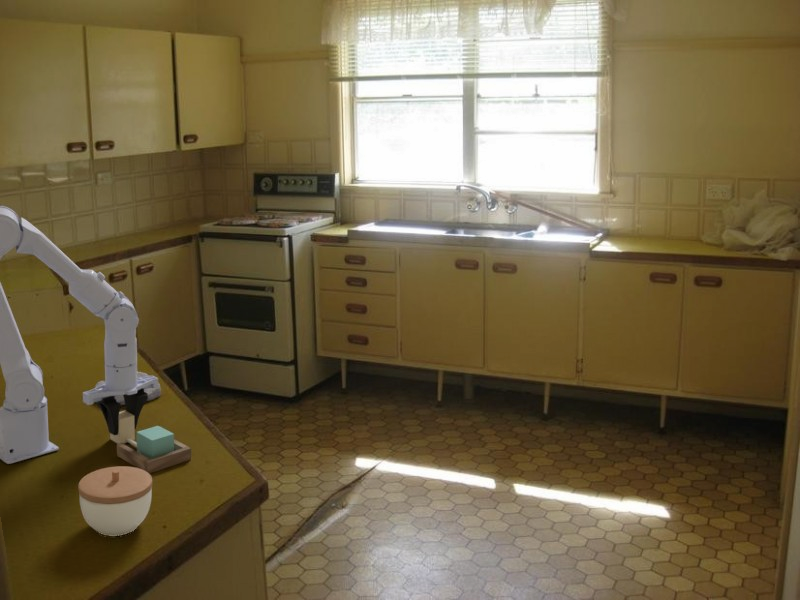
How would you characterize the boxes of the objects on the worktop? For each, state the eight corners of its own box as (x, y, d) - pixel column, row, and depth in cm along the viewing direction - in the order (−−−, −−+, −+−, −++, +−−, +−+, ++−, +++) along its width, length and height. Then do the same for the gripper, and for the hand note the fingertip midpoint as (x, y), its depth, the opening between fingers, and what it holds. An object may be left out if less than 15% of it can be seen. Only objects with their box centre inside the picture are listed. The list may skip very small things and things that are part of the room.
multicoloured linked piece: (174, 459, 158) (174, 433, 157) (152, 466, 154) (152, 440, 153) (128, 434, 167) (128, 409, 166) (107, 440, 164) (106, 415, 163)
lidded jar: (127, 503, 141) (125, 450, 139) (167, 527, 135) (166, 471, 132) (66, 526, 133) (63, 470, 131) (105, 553, 126) (103, 494, 124)
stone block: (165, 404, 188) (138, 383, 194) (167, 385, 186) (140, 365, 192) (117, 420, 179) (90, 398, 185) (119, 400, 178) (91, 378, 183)
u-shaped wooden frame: (191, 459, 158) (191, 448, 158) (147, 473, 152) (147, 462, 151) (159, 442, 164) (159, 431, 164) (116, 455, 158) (116, 444, 157)
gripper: (96, 376, 153) (98, 447, 156) (167, 360, 164) (167, 427, 167) (75, 366, 157) (78, 435, 161) (146, 351, 168) (146, 416, 171)
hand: (122, 430), depth 164 cm, fingers closed on multicoloured linked piece, 3 cm apart
